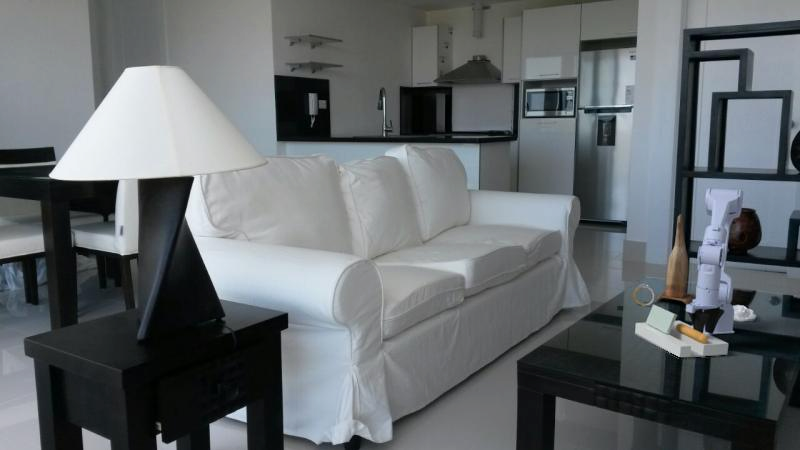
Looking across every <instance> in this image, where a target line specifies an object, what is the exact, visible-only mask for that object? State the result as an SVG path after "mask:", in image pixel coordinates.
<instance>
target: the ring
mask: <svg viewBox="0 0 800 450" xmlns="http://www.w3.org/2000/svg"><path fill="white" fill-rule="evenodd" d="M642 289H645V290H646V289H647V290H649V291H650V292H651V294H652V299H651V300H650V301H649V302H646V303H645V302H641V301H639V300H638V299H637V296H636V295H637V294H636V293H637V292H639V291H640V290H642ZM632 296H633V300H634V301H635V302H636V304H637V305H640V306H642V307H645V306H649V305H651V304H652V303H653V302H654V301H655V299H656V294H655V291H654V289H652V288H651V287H650V284H648V285H647V283H646V282H645V283H639V284H638V285H637V287H636V288H635V289H634V291H633V295H632Z"/></svg>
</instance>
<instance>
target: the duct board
mask: <svg viewBox="0 0 800 450" xmlns="http://www.w3.org/2000/svg"><path fill="white" fill-rule="evenodd" d="M679 323H681V324H684V325H686V326H688V327H690V328H692V329H693V327H692V325H690V324H688V323H686V322H683V321H681V320H675V322H674V324H673V327H672V329H671V331H670V334H666V333H664V332H662V331H660V330H659V329H657V328H655V327H653V326H651V325H649V324H647V323H646V322H635V331H634V335H636V336H638V337H639V338H640V339H641V338H642V339H643V340H645V341H646V342H648V343H650V344H652V345H653V344H654V346H655V345H656V347H657V346H658V347H657V348H659V347H660V348H659V349H661V348H662V349H664V350H666V351H668V352H669V353H668V352H667V353H668V354H670V353H672V354H674V355H676V356H678V357H681V358H682V357H701V358H706V357H705V356H716V357H719V356H718V355H727V356H728V350H729V343H728V342H726V341H725V340H722V339H719V338H718V337H715V336H713V335H712V334H707V333H705V332H703V334H705V335H706V336H707V337H708V340H707V342H706V343H701V342H699V341H697V340H695V339H693V338H691V337H689V336H687V335H685V334H683V333H681V332H679V331H677V330H676V325H677V324H679ZM662 349H661V350H662ZM664 350H663V351H664ZM666 351H665V352H666Z"/></svg>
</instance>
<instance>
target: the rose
mask: <svg viewBox="0 0 800 450" xmlns="http://www.w3.org/2000/svg"><path fill="white" fill-rule="evenodd" d="M732 306H733V308H734V321H736V322H739V323H740V322H741V323H745V322H753V321H754V320H755V319H756V318H757V315H756V314H755V313H754V310H753V309H751V308H748V307H746V306H745V305H740V304H736V305H735V304H734V305H732ZM734 321H733V322H734Z"/></svg>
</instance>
